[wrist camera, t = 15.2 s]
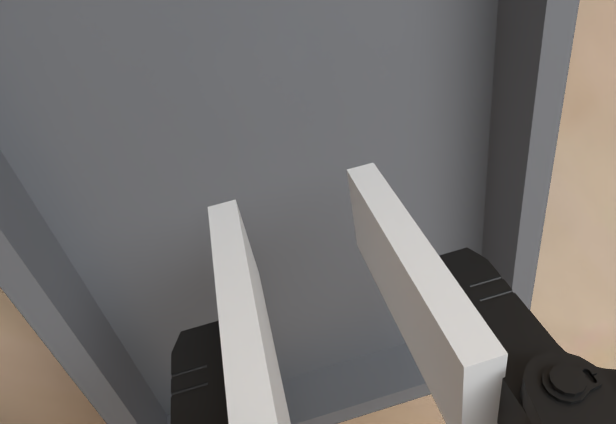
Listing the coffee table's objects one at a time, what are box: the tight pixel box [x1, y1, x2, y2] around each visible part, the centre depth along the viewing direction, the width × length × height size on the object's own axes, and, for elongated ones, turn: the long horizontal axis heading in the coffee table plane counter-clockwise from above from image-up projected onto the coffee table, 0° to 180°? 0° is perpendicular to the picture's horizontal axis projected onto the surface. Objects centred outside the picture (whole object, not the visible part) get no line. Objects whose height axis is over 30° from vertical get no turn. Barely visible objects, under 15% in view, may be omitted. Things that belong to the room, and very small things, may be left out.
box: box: [0, 0, 579, 424], centre depth 16 cm, size 26×18×3 cm
